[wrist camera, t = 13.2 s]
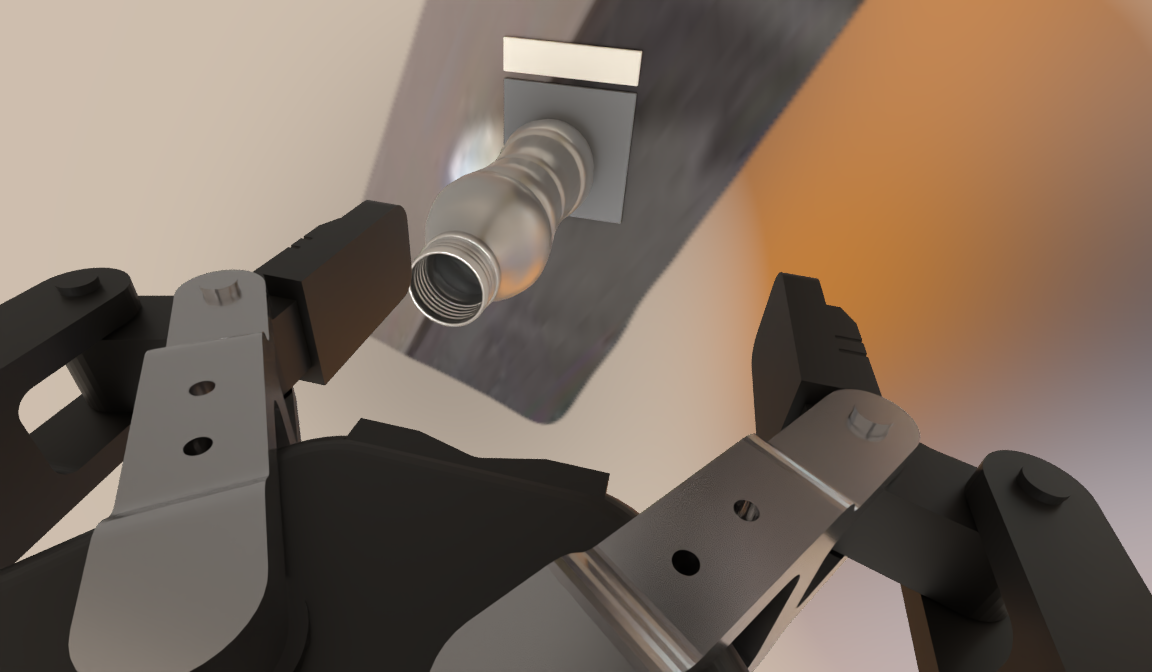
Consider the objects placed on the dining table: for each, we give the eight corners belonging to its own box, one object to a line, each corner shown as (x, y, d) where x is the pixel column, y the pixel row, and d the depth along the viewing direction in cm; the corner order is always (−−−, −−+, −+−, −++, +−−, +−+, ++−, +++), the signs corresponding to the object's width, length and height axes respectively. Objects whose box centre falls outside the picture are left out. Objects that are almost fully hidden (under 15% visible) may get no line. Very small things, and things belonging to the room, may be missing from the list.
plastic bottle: (501, 185, 42) (364, 322, 26) (527, 95, 39) (386, 188, 22) (580, 219, 43) (495, 377, 26) (614, 133, 39) (539, 254, 22)
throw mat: (506, 36, 37) (503, 37, 37) (642, 51, 36) (641, 51, 36) (505, 204, 44) (503, 206, 43) (621, 221, 42) (620, 224, 42)
